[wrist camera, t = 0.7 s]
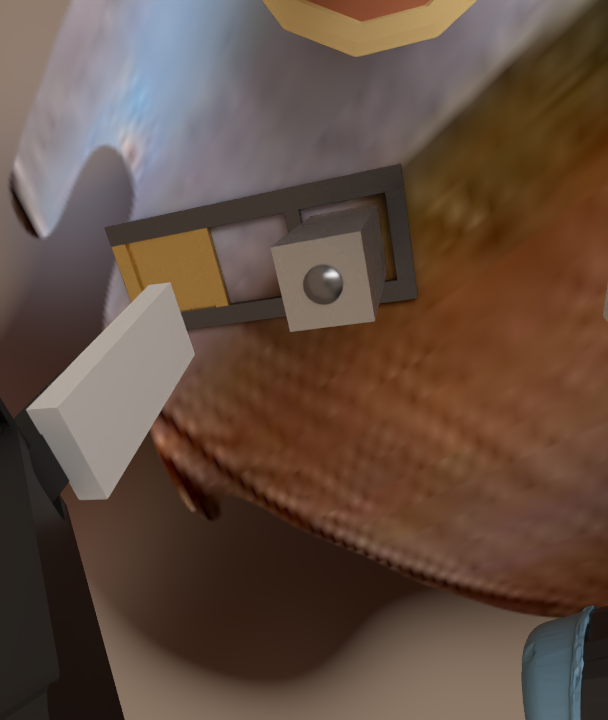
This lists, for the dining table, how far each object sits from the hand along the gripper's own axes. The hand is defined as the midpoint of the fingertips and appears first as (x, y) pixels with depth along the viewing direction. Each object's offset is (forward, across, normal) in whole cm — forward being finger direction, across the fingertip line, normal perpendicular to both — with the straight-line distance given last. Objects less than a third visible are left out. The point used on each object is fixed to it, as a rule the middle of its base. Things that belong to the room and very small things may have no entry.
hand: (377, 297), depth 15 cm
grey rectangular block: (+22, +3, +5) cm, 23 cm away
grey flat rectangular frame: (+22, +10, +6) cm, 25 cm away
